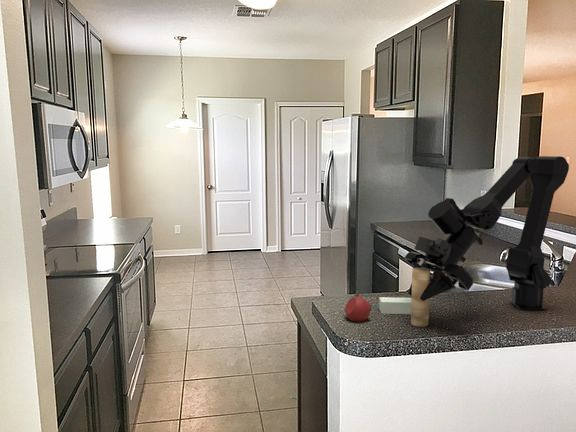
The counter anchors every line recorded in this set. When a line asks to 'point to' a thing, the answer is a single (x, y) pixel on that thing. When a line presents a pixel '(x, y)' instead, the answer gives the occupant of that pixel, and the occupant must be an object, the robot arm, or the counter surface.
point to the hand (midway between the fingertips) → (415, 297)
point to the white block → (394, 305)
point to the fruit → (357, 309)
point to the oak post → (417, 305)
